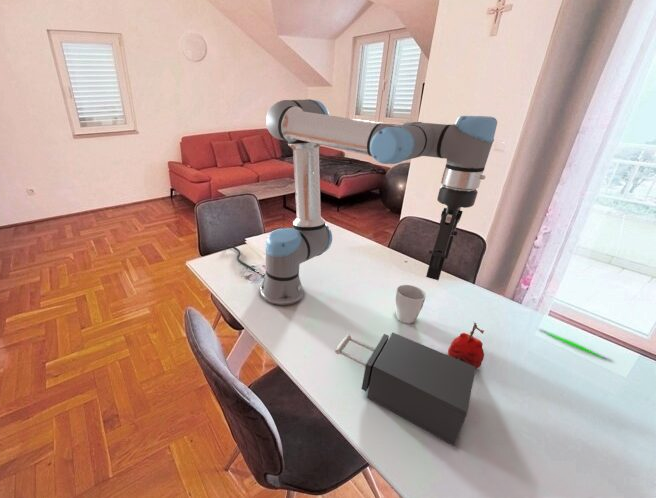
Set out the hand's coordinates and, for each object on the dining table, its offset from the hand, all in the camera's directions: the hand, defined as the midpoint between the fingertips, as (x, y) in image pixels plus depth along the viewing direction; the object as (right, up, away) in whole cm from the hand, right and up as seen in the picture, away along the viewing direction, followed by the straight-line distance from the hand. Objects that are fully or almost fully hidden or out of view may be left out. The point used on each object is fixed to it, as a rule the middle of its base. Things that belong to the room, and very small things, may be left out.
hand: (437, 267), depth 81 cm
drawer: (-15, -28, -4) cm, 31 cm away
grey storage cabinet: (-9, -30, -7) cm, 32 cm away
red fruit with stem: (+8, -26, +2) cm, 27 cm away
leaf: (+44, -23, +9) cm, 50 cm away
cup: (+1, -19, +19) cm, 27 cm away
